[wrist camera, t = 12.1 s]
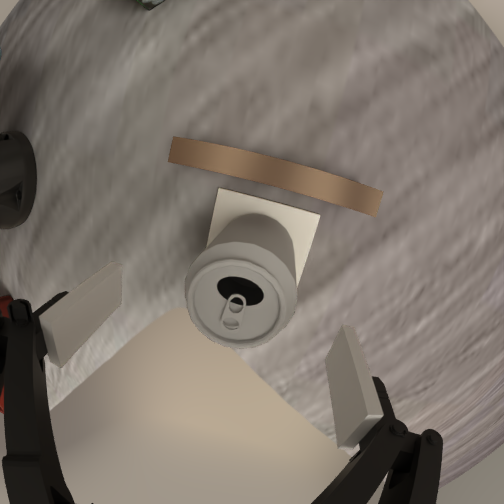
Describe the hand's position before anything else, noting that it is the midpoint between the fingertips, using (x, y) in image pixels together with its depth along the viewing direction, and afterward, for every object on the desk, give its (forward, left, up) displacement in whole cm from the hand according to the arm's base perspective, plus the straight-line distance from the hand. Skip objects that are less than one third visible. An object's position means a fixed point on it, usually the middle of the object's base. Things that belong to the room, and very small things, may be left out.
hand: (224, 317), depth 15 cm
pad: (0, 0, -14) cm, 14 cm away
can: (0, 0, -13) cm, 13 cm away
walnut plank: (+5, +6, -14) cm, 16 cm away
